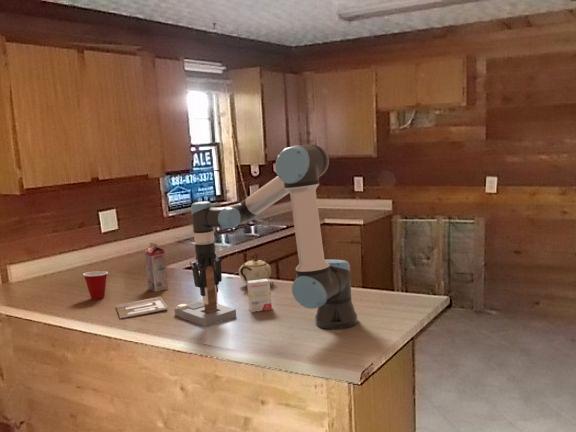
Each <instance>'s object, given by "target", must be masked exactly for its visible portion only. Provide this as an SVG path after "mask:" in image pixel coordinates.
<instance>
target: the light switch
mask: <svg viewBox="0 0 576 432" xmlns="http://www.w3.org/2000/svg"><path fill="white" fill-rule="evenodd" d="M154 303H155V305H154ZM115 306H116V307H115V308H116V310H117V313H118V315H119V318H120V319H126V318H131V317H137V316H141V315H146V314H151V313H156V312H161V311H166V310H168V309H169V307H168V305H167V304H166V302H165V301H164V300H163V298H162V296H156V297H150V298H147V299H146V298H145V299H140V300H135V301H131V302H129V301H128V302H124V303H120V304H116V305H115ZM118 308H119V309H120V308H124V309H125V311H128V312H127V314H126V315H121V314H120V312H119V309H118ZM129 310H132V311H129Z"/></svg>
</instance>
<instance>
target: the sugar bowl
mask: <svg viewBox="0 0 576 432" xmlns="http://www.w3.org/2000/svg"><path fill="white" fill-rule="evenodd" d="M271 274H272V268H271V266H270V264H269V260H268V259H266V258H264V259H262V260H261V259H258V254H257V253H255V252H253V253H251V260H248V261H245V262H243V263H242V265H240V267H239V268H238V275H239V278H240V279H241V280H242V281H243V282H244V284H245V285H246V286H247V281H252V280H260V279H268V280H269V279H270V277H271Z"/></svg>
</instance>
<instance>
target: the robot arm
mask: <svg viewBox="0 0 576 432" xmlns="http://www.w3.org/2000/svg"><path fill="white" fill-rule="evenodd" d="M274 164H275V166H274V167H275V173H276V175H277V176H275V178H274V177H273V179H271V180H270V181H269V182H266V183H265V184H264V185H263V186H261V187H260V188H259V189H257V190H256V191H255V192H253V193H251V195H249V196H248V197H246V198H244V199H243V200H242V201H241V202H238V203H236V204H235V203H234V204H231V205H227V206H222V207H220V206H219V207H214V206H213V207H212V204H211V202H210V201H196V202H193V203H192V204H191V207H190V208H191V210H190V211H191V214H190V215H191V220H192V229H193V231H192V232H193V239H194V243H195V244H194V252H195V255H196V256H195V260H194V261H190V262H189V265H190V268H191V269H192V278H193V282H194V287H197V288H199V292H200V296H201V297H202V300H203V303H204V304H209V302H208V292H207V287H205V280H206V274H205V270H206V269H207V266H212V268H213V271H214V282H215V292H216V303H217V302H218V292H219V286H218V285H219V284H220V282H222V280H223V279H222V260H223V256H221V255H217V254H216V244H215V242H214V241H215V234H214V233H215V232H214V228H217V229H234V228H237V227H238V225H240V224H243V223H246V222H251V221H253V220H255V219H256V218H257V217H258V216H259V214H260V213H262V212H263V211H265V210H267V208H269V207H271V206H272V205H274V204H275V203H276V202H278V201H280V200H281V199H283V198H284V197H285V196H287V195H288V194H290V195H289V196H290V205H291V211H292V218H293V219H292V220H293V226H294V232H295V241H296V248H297V249H296V250H297V256H298V262H299V263H298V265H297V266H296V267H295V274H296V275H295V277H296V278H295V280H294V282H292V286H291V292H292V296H293V298H294V300H295V301H296V302H297V303H298V304H299V305H300V306H301V307H303V308H305V309H312V310H313V309H316V310H317V311H316V315H315V317H314V318H315V325H316V326H317V327H319V328H321V329H326V330H342V329H349V328H352V327H353V326H356V325H357V324H358V314H357V313H356V311H355V310H356V309H355V307H354V304H353V301H352V282H351V281H352V279H351V265H350V263H349V261H348V260H345V259H344V260H343V259H332V258H331V259H325V253H324V245H323V239H322V230H321V229H322V228H321V221H320V215H319V207H318V206H319V205H318V198H317V191H316V190H317V188H318V187H319V186H320V177H321V176H323V175H324V174H325V173H326V172H327V170H328V168H329V166H330V165H329V164H330V160H329V155H328V153H327V151H326V150H325V149H324V148H323V147H322V146H321V145H318V144H301V145H292V146H290V147H285V148H284V149H283V150H282V151H280V153H279V154H278V155H277V158H276V160H275V163H274ZM202 267H203V268H202Z"/></svg>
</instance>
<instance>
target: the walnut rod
mask: <svg viewBox="0 0 576 432" xmlns="http://www.w3.org/2000/svg"><path fill="white" fill-rule="evenodd" d="M202 268H203V267H202ZM205 274H206V280H205V287H207V292H208V302H209V304H204V307H205V312H208V313H212V312H215V311H217V304H218V303H217V302H216V292H215V282H214V271H213V268H212V266H207V269H206V270H205Z"/></svg>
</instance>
